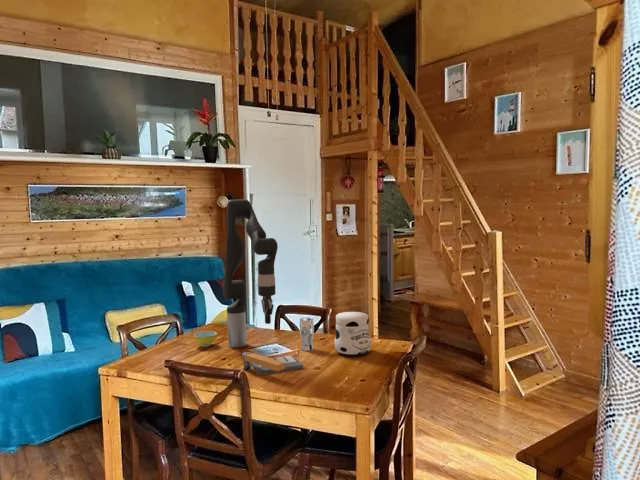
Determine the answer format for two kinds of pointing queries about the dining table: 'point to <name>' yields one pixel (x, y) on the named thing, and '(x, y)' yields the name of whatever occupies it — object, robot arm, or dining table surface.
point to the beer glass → (307, 333)
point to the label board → (289, 361)
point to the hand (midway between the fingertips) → (267, 323)
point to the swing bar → (263, 361)
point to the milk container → (352, 333)
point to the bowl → (205, 338)
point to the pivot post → (247, 365)
